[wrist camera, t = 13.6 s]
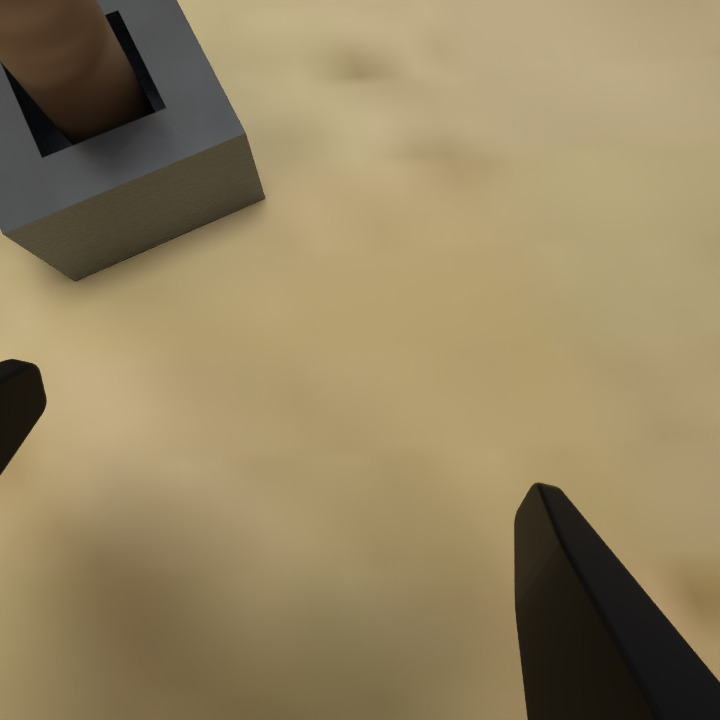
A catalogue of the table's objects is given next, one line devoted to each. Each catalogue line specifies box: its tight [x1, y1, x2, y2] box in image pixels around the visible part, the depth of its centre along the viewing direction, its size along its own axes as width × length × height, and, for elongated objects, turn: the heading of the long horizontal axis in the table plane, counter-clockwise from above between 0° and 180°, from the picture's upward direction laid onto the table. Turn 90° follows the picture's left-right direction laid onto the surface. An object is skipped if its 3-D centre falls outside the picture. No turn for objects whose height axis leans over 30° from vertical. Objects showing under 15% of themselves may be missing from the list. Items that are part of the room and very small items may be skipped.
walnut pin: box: [0, 0, 155, 146], centre depth 17 cm, size 4×4×13 cm
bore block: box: [0, 0, 265, 281], centre depth 22 cm, size 10×10×5 cm
